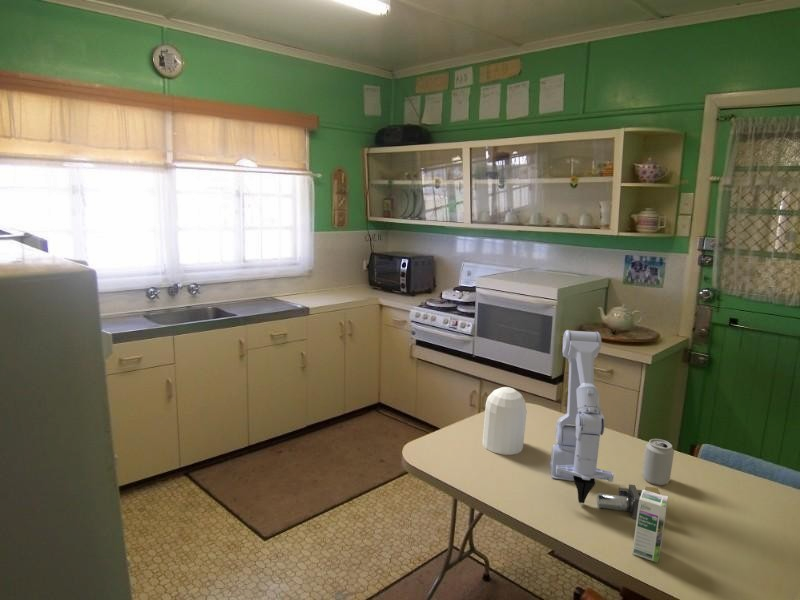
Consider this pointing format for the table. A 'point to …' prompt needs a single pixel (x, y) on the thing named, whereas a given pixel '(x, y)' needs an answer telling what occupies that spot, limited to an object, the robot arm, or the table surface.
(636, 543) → the syrup box
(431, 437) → the table surface
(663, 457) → the can
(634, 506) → the collar bracket
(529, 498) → the table surface
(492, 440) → the container
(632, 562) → the table surface
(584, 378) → the robot arm
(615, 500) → the tube
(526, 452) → the table surface
